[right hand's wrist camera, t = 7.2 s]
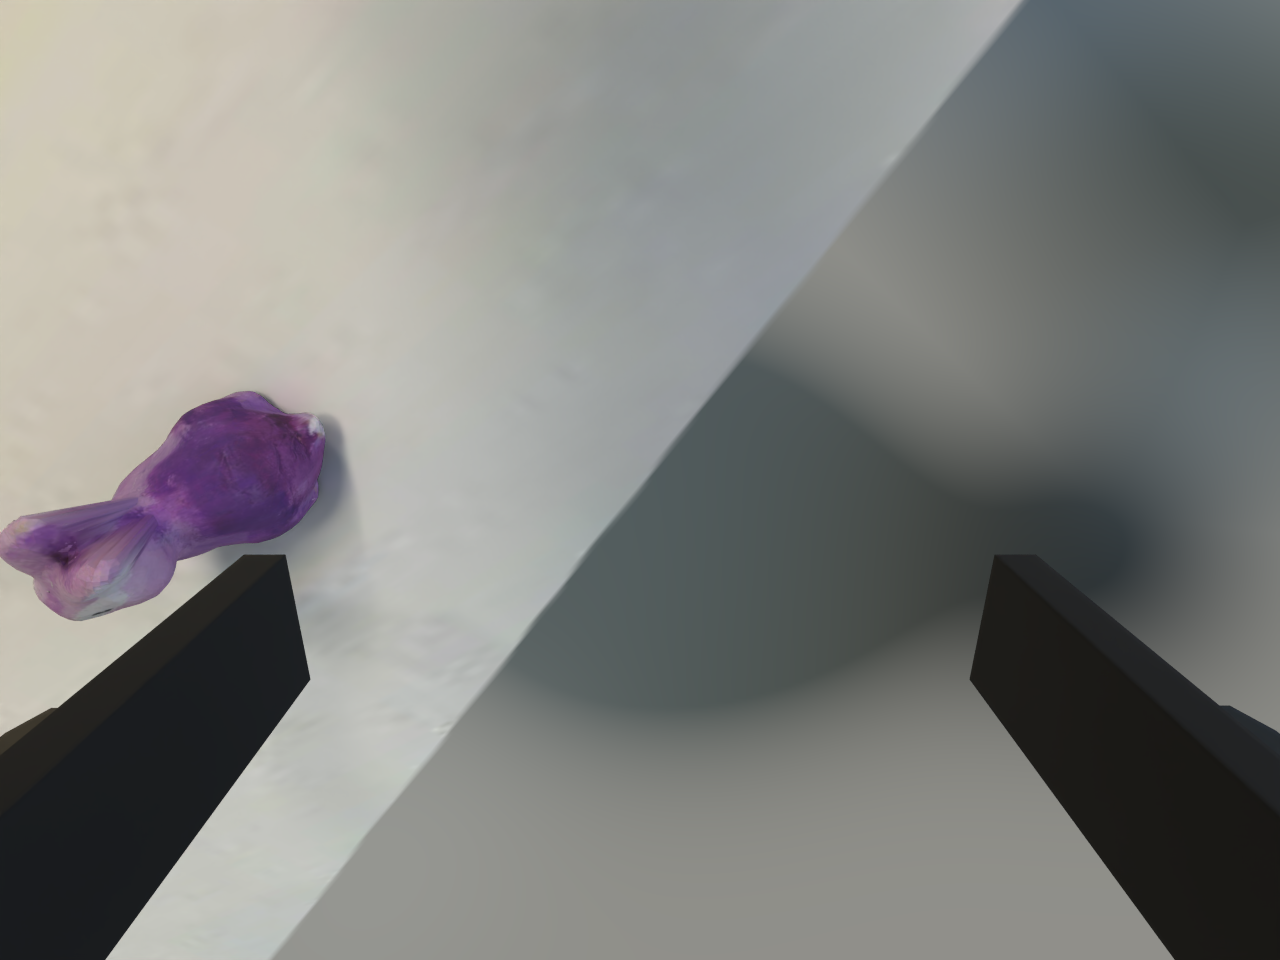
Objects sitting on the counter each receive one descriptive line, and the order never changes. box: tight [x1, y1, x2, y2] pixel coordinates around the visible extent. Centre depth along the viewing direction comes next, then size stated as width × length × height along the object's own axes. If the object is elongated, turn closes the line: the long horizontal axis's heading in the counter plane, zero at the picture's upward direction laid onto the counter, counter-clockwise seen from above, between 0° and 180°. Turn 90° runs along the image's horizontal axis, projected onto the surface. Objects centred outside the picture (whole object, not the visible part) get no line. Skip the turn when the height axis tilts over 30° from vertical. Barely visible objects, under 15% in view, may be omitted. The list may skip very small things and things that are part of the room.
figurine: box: [0, 391, 325, 621], centre depth 34 cm, size 9×10×15 cm
